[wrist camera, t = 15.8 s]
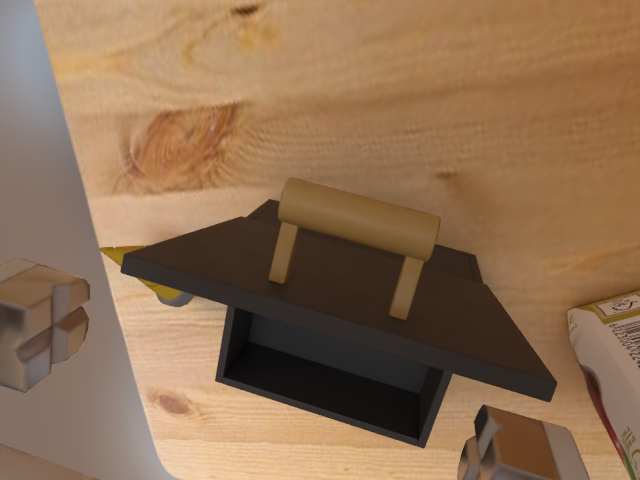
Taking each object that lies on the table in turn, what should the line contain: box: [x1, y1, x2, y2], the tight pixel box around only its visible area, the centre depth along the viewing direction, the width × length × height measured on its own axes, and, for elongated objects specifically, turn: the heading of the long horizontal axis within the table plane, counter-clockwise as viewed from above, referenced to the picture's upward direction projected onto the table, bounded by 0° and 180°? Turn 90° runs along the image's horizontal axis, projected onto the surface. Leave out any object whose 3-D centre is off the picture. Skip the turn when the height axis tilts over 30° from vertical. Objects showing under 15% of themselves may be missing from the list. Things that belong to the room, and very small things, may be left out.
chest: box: [215, 199, 483, 448], centre depth 37 cm, size 13×16×6 cm
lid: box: [121, 178, 557, 402], centre depth 24 cm, size 14×16×5 cm
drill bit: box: [100, 245, 195, 307], centre depth 38 cm, size 5×5×10 cm
